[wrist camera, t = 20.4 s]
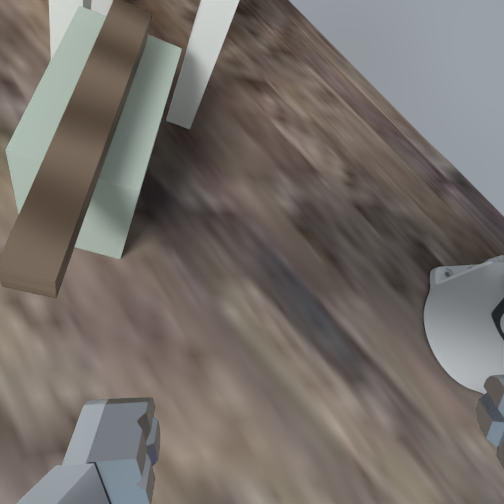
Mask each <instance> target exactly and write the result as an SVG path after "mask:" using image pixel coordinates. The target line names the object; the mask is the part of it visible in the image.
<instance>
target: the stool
mask: <svg viewBox="0 0 504 504" xmlns="http://www.w3.org/2000/svg"><path fill="white" fill-rule="evenodd" d="M112 3H113V0H49V17H50V43H51V60H52V58H53V56H54V54H55V52H56V50H57V48H58V46H59V44H60V42H61V40H62V38H63V36H64V34H65V32H66V30H67V28H68V26H69V24H70V22H71V20H72V18H73V16H74V14H75V12H76V10H77V9H78V7H79V6H82V7H84V8H86V9H89V10H92V11H94V12H97V13H99V14H101V15H104V16H107V14H108V12H109V9H110V7H111V5H112ZM238 3H239V0H201V2H200V5H199V8H198V12H197V15H196V18H195V22H194V25H193V28H192V32H191V35H190V38H189V42H188V45H187V49H186V50H187V51H186V54H185V58H184V61H183V64H182V68H181V71H180V74H179V78H178V81H177V84H176V88H175V91H174V94H173V98H172V101H171V104H170V108H169V111H168V115H167V118H166V121H168V122H171V123H173V124H176V125H179V126H182V127H184V128H187V129H190V127H191V125H192V122H193V120H194V117H195V114H196V112H197V109H198V107H199V104H200V102H201V99H202V96H203V94H204V91H205V89H206V86H207V83H208V81H209V78H210V76H211V73H212V70H213V68H214V65H215V63H216V60H217V57H218V55H219V52H220V50H221V47H222V45H223V42H224V39H225V37H226V34H227V32H228V29H229V26H230V24H231V21H232V19H233V16H234V13H235V11H236V8H237V6H238Z"/></svg>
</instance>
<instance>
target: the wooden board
mask: <svg viewBox="0 0 504 504" xmlns="http://www.w3.org/2000/svg"><path fill="white" fill-rule="evenodd" d="M151 17H152V13H150V12H148V11H146V10H143V9H141V8H139V7H137V6H134V5H132V4H130V3H127V2H125V1H123V0H113V3H112V5H111V7H110V9H109V12H108V14H107V16H106V18H105V21H104V23H103V25H102V27H101V30H100V32H99V34H98V37H97V39H96V41H95V43H94V46H93V48H92V50H91V52H90V55H89V57H88V59H87V61H86V64H85V66H84V68H83V71H82V73H81V75H80V77H79V80H78V82H77V84H76V86H75V89H74V91H73V93H72V95H71V98H70V100H69V102H68V104H67V107H66V109H65V111H64V114H63V116H62V118H61V120H60V123H59V125H58V127H57V129H56V132H55V134H54V136H53V138H52V141H51V143H50V145H49V148H48V150H47V152H46V154H45V157H44V159H43V161H42V163H41V166H40V168H39V170H38V172H37V175H36V177H35V179H34V182H33V184H32V186H31V188H30V191H29V193H28V195H27V197H26V200H25V202H24V204H23V206H22V209H21V211H20V213H19V215H18V218H17V220H16V222H15V225H14V227H13V229H12V231H11V234H10V236H9V238H8V240H7V243H6V245H5V247H4V249H3V252H2V254H1V256H0V281H1V284H2V286H3V287H7V288H11V289H16V290H20V291H25V292H29V293H34V294H38V295H43V296H47V297H52V298H57V295H58V292H59V289H60V286H61V284H62V281H63V278H64V275H65V272H66V269H67V267H68V264H69V261H70V258H71V255H72V252H73V250H74V247H75V244H76V241H77V238H78V235H79V233H80V230H81V227H82V224H83V221H84V218H85V216H86V213H87V210H88V207H89V204H90V201H91V199H92V196H93V193H94V190H95V187H96V184H97V182H98V179H99V176H100V173H101V170H102V167H103V165H104V162H105V159H106V156H107V153H108V150H109V148H110V145H111V142H112V139H113V136H114V133H115V131H116V128H117V125H118V122H119V119H120V116H121V114H122V111H123V108H124V105H125V102H126V99H127V97H128V94H129V91H130V88H131V85H132V82H133V80H134V77H135V74H136V71H137V68H138V65H139V63H140V60H141V57H142V54H143V51H144V48H145V46H146V42H147V37H148V32H149V27H150V22H151Z"/></svg>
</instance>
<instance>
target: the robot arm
mask: <svg viewBox="0 0 504 504" xmlns="http://www.w3.org/2000/svg"><path fill="white" fill-rule="evenodd" d="M424 325H425V331H426V335H427V338H428V341H429V344H430V346H431V349H432V351H433V353H434V355H435V356H436V358H437V360H438V361H439V363H440V364H441V366H442V367H443V368H444V369H445V371H446V372H447V373H448V374H449V375H450V376H451V377H452V378H453V379H454V380H456V381H457V382H458V383H460V384H461V385H463V386H465V387H467V388H469V389H471V390H475V391H478V392H481V393H483V394H484V395H483V396H482V397H481V398H479V400H478V404H477V407H476V413H477V420H478V423H479V426H480V429H481V431H482V432H483V434H484V436H485V438H486V439H487V440H489V441H490V442H492V443H493V444H494V445H496V446H497V454H496V456H497V458H498V460H499V461H500V463H501V465H502V466H503V468H504V255H501V256H498V257H495V258H491V259H488V260H486V261H485V263H482V264H478V265H461V266H443V267H437V268H434V269H432V270H431V272H430V292H429V295H428V297H427V300H426V303H425V308H424ZM154 411H155V405H154V401H153V398H123V399H102V400H88V401H87V402H86V404H85V405H84V406H83V408H82V411H81V414H80V417H79V419H78V422H77V425H76V428H75V430H74V433H73V436H72V439H71V441H70V444H69V447H68V450H67V452H66V455H65V458H64V461H63V463H62V465H57V466H54V467H53V468H52V469H51V470H50V471H49V472H48V473H47V474H46V475H45V476H44V477H43V478H42V479H41V480H40V481H39V482H38V483H37V484H36V485H35V486H34V487H33V488H32V489H31V490H30V491H29V492H28V493H27V494H26V495H24V496H23V497H22V498H21V499H20V500H19V501H18V502H17V503H16V504H151V502H152V495H153V489H154V483H155V475H154V472H153V468H152V467H153V465H154V464H155V463H156V462H157V461H158V457H159V450H160V427H159V422H158V419H157V418H155V417H154Z"/></svg>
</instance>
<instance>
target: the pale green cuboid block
mask: <svg viewBox="0 0 504 504" xmlns="http://www.w3.org/2000/svg"><path fill="white" fill-rule="evenodd" d="M105 18H106V16H103V15H101V14H98V13H96V12H94V11H91V10H89V9H86V8H84V7H82V6H79V7H78V9H77V10H76V12H75V14H74V16H73V18H72V20H71V22H70V24H69V26H68V28H67V30H66V32H65V34H64V36H63V38H62V40H61V42H60V44H59V46H58V48H57V50H56V52H55V54H54V56H53V58H52V60H51V62H50V64H49V66H48V68H47V69H46V71H45V73H44V75H43V77H42V79H41V81H40V83H39V85H38V87H37V89H36V91H35V93H34V95H33V97H32V99H31V101H30V103H29V105H28V107H27V109H26V111H25V113H24V115H23V117H22V119H21V121H20V123H19V125H18V126H17V128H16V130H15V132H14V134H13V136H12V138H11V140H10V142H9V144H8V146H7V148H6V154H7V159H8V164H9V169H10V174H11V179H12V183H13V188H14V193H15V198H16V203H17V208H18V213H20V211H21V209H22V206H23V204H24V202H25V200H26V197H27V195H28V193H29V191H30V188H31V186H32V184H33V182H34V179H35V177H36V175H37V172H38V170H39V168H40V166H41V163H42V161H43V159H44V157H45V154H46V152H47V150H48V148H49V145H50V143H51V141H52V138H53V136H54V134H55V132H56V129H57V127H58V125H59V123H60V120H61V118H62V116H63V114H64V111H65V109H66V107H67V104H68V102H69V100H70V98H71V95H72V93H73V91H74V89H75V86H76V84H77V82H78V80H79V77H80V75H81V73H82V71H83V68H84V66H85V64H86V61H87V59H88V57H89V55H90V52H91V50H92V48H93V46H94V43H95V41H96V39H97V37H98V34H99V32H100V30H101V27H102V25H103V23H104V21H105ZM181 50H182V48H179V47H177V46H175V45H172V44H170V43H167V42H165V41H163V40H160V39H158V38H156V37H153V36H151V35H148V37H147V42H146V46H145V48H144V51H143V54H142V57H141V60H140V63H139V65H138V68H137V71H136V74H135V77H134V80H133V82H132V85H131V88H130V91H129V94H128V97H127V99H126V102H125V105H124V108H123V111H122V114H121V116H120V119H119V122H118V125H117V128H116V131H115V133H114V136H113V139H112V142H111V145H110V148H109V150H108V153H107V156H106V159H105V162H104V165H103V167H102V170H101V173H100V176H99V179H98V182H97V184H96V187H95V190H94V193H93V196H92V199H91V201H90V204H89V207H88V210H87V213H86V216H85V218H84V221H83V224H82V227H81V230H80V233H79V235H78V238H77V241H76V244H75V247H76V248H79V249H83V250H87V251H91V252H95V253H98V254H102V255H106V256H110V257H114V258H117V259H121V255H122V252H123V248H124V245H125V242H126V238H127V235H128V231H129V228H130V225H131V221H132V218H133V215H134V211H135V208H136V204H137V201H138V198H139V194H140V191H141V187H142V184H143V181H144V177H145V174H146V171H147V167H148V164H149V160H150V157H151V154H152V150H153V147H154V143H155V140H156V137H157V133H158V130H159V126H160V123H161V119H162V116H163V112H164V109H165V105H166V102H167V99H168V95H169V92H170V88H171V85H172V81H173V78H174V74H175V71H176V67H177V64H178V60H179V57H180V53H181Z"/></svg>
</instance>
